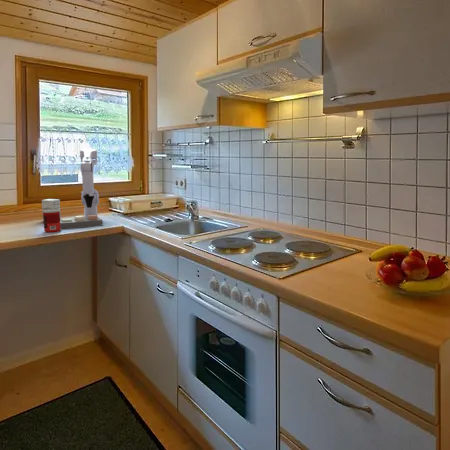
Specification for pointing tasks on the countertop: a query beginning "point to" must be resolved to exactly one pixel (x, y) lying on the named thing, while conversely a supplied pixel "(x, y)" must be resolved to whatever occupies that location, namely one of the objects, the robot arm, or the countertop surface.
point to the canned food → (51, 221)
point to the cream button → (79, 218)
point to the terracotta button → (92, 217)
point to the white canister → (51, 205)
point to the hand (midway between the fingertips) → (89, 207)
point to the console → (81, 223)
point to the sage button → (66, 220)
